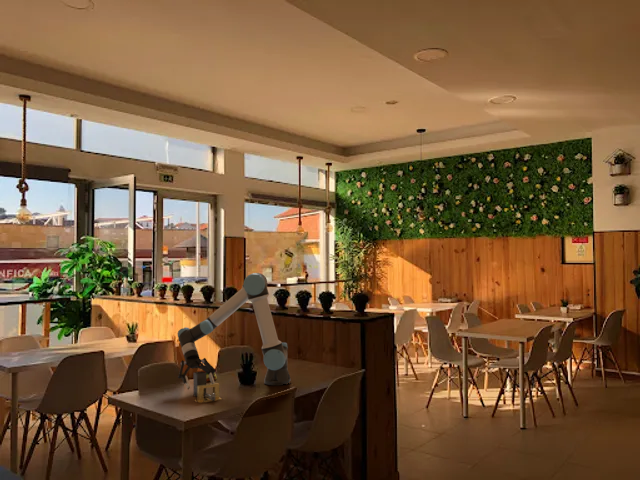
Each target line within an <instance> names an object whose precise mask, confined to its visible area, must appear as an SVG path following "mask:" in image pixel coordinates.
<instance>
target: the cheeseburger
mask: <svg viewBox="0 0 640 480" xmlns="http://www.w3.org/2000/svg"><path fill="white" fill-rule="evenodd" d="M201 371H203V370H202V369H199V368H197V370H196V372H201ZM203 372H205V371H203ZM217 378H218V377H217V374H216V372H215V373H214V381H215V380H216V381H217ZM206 382H211V381H210V378H209V374H208V373H206Z"/></svg>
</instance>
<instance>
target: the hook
mask: <svg viewBox="0 0 640 480" xmlns="http://www.w3.org/2000/svg"><path fill="white" fill-rule="evenodd" d="M206 384H207V381H206V372H203V371H201V372H197V371H193V393H192V394H193V397H195V398H197V386H199V385H206ZM204 398H208V399H210V400H212V401H211V402H214V401H215V393H213V392H212V393H211V395H210V394H209V393H207V388H204ZM215 402H216V401H215Z"/></svg>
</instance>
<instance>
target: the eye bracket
mask: <svg viewBox="0 0 640 480" xmlns="http://www.w3.org/2000/svg"><path fill="white" fill-rule="evenodd" d="M204 388H206V389H207V388H208V389H209V388H212V393H215V402H216V401H221V400H223V399H222V397H220V383H218V382H215V383H213V384H211V383H206V385H199V386H197V397H196V399H194V401H195V402H196V403H198V404H202V403H203V404H204V403H209V402H213V401H212V400H210V399H208V398H206V397H204Z"/></svg>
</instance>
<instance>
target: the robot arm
mask: <svg viewBox="0 0 640 480" xmlns="http://www.w3.org/2000/svg"><path fill="white" fill-rule="evenodd" d="M269 295H270V293H269V290H268V279H267V277H266V276H265V275H264V274H262V273H260V272H253V273H250V274H248V275H246V277H245V279H244V281H243V284H242V287H241V289H239V290H238V291H237V292H236V293H234V295H232V296H231V297H230V298H229V299H227V300H226V301H225V302H224V303H223V304H221V306H220V307H218V308H217V309H216V310H215V311H214V312H213V313H212V314H210V315H209V316H208V317H207V318H206V319H205V320H203V321H201V322H199V323H197V324H196V325H194V326H192V327H191V328H189V327H183V328H180V329H178V331H177V339H178V342H179V346H180V347H181V352H182V354H183V357H184V360H183V359H182V360H180V368H179V372H178V376H177V378H178V379H181V380H182V382H183V384H185V387H186V389H187V390H189V389H190V387H191V384H190V381H189V378H188V376H187V374H188V373H189V371H190V369H193V370H194V369H198V368H199V369H202V370H203V371H205V372H206V373H208V374H209V378H210V381H209V382H210V384H213V383H216V382H215V380H214V373H215V374H216V368H214V367H213V365H211V364H210V362H209V361H208V360H207V358H206V357H204V358H203V359H201V358H200V355H199V352H198V349H197V346H196V343H195V342H197V341H198V340H200V339H202V338H204V337H206V336H207V335H209V334H211V333H212V332H213V331H215V329H216V328H218V327H219V326H220V325H221V324H223V322H224V321H226V319H228V318H229V317H230V316H231V315H233V314H234V313H235V312H236V311H237V310H239V308H241V307H242V306H243V305H244V304H245V303H247V302H248V301H250V302H251V304H252V306H253V311H254V315H255V318H256V322H257V326H258V329H259V332H260V333H259V334H260V336H261V340H262V341H261V342H262V346H261V352H262V355H263V358H262V359H263V364H264V366H265V367H266V368H267V369H266V373H265V376H264V379H263V381H264V382H263V383H264V385H268V386H284V385H283V384H286V385H288V384H287V383H289V382H290V381H291V379H292V378H291V376H290V372H289V370H288V348H289V347H288V343H287V342H282V341H281V340H279V338H278V333H277V331H276V326H275V323H274V318H273V315H272V311H271V308H270V305H269V300H268V297H269ZM184 366H187V367H186V369H185V370H184V372H183V369H184ZM182 373H183V374H182ZM291 382H292V381H291ZM289 384H290V383H289ZM187 390H186V391H187Z"/></svg>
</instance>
